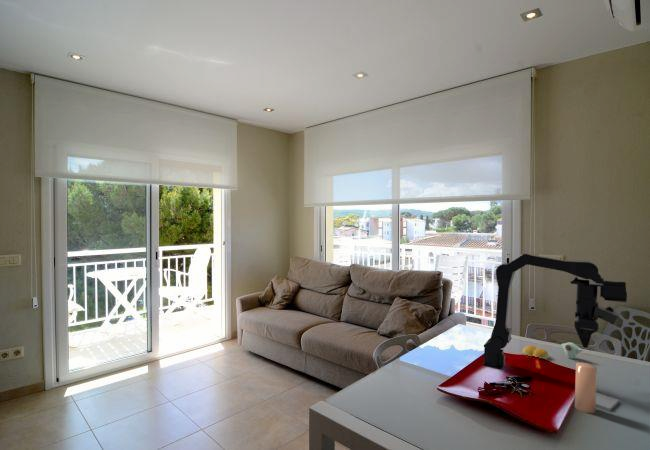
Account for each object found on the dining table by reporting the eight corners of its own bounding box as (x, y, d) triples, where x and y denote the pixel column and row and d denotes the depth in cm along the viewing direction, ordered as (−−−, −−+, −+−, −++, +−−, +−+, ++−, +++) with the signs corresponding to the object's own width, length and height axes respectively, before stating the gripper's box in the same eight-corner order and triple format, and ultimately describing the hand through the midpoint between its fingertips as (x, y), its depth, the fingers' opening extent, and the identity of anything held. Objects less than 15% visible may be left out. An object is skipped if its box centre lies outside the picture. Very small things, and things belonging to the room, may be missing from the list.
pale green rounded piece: (583, 361, 143) (584, 344, 143) (578, 362, 141) (578, 346, 141) (563, 354, 150) (563, 338, 150) (557, 355, 148) (557, 339, 148)
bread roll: (544, 362, 142) (544, 352, 142) (520, 355, 148) (520, 346, 148) (551, 357, 147) (551, 347, 147) (528, 351, 154) (528, 341, 154)
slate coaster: (574, 398, 112) (574, 396, 112) (584, 390, 117) (584, 388, 117) (609, 411, 105) (609, 408, 104) (618, 402, 110) (618, 399, 110)
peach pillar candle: (574, 409, 105) (575, 366, 105) (574, 402, 109) (576, 361, 109) (595, 415, 102) (597, 370, 102) (595, 408, 106) (596, 365, 106)
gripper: (619, 307, 108) (618, 357, 108) (615, 297, 123) (613, 341, 123) (575, 301, 114) (573, 349, 114) (575, 292, 129) (574, 335, 130)
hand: (585, 343), depth 120 cm, fingers open, 9 cm apart
